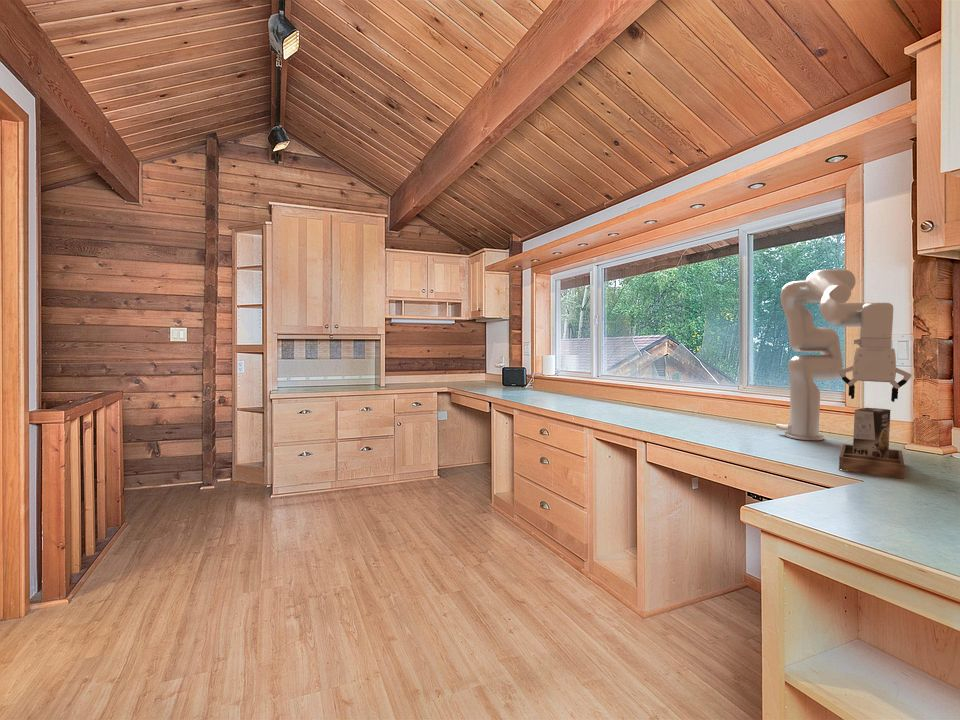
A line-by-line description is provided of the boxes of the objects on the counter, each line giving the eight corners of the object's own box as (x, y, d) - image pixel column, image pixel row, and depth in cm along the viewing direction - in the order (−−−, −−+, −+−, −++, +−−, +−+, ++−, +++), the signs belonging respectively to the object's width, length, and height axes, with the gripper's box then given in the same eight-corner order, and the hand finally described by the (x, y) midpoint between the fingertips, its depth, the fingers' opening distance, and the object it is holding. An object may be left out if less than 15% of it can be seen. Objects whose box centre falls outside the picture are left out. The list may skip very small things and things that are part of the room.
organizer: (838, 470, 146) (839, 456, 146) (842, 456, 162) (843, 444, 161) (903, 479, 137) (904, 464, 137) (901, 463, 152) (901, 450, 152)
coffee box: (876, 466, 146) (879, 412, 145) (851, 461, 152) (853, 409, 151) (889, 461, 151) (891, 409, 150) (864, 456, 156) (866, 406, 155)
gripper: (839, 343, 151) (836, 398, 153) (914, 345, 141) (910, 404, 142) (840, 342, 157) (838, 395, 159) (912, 343, 146) (909, 400, 148)
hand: (872, 399), depth 150 cm, fingers open, 9 cm apart
